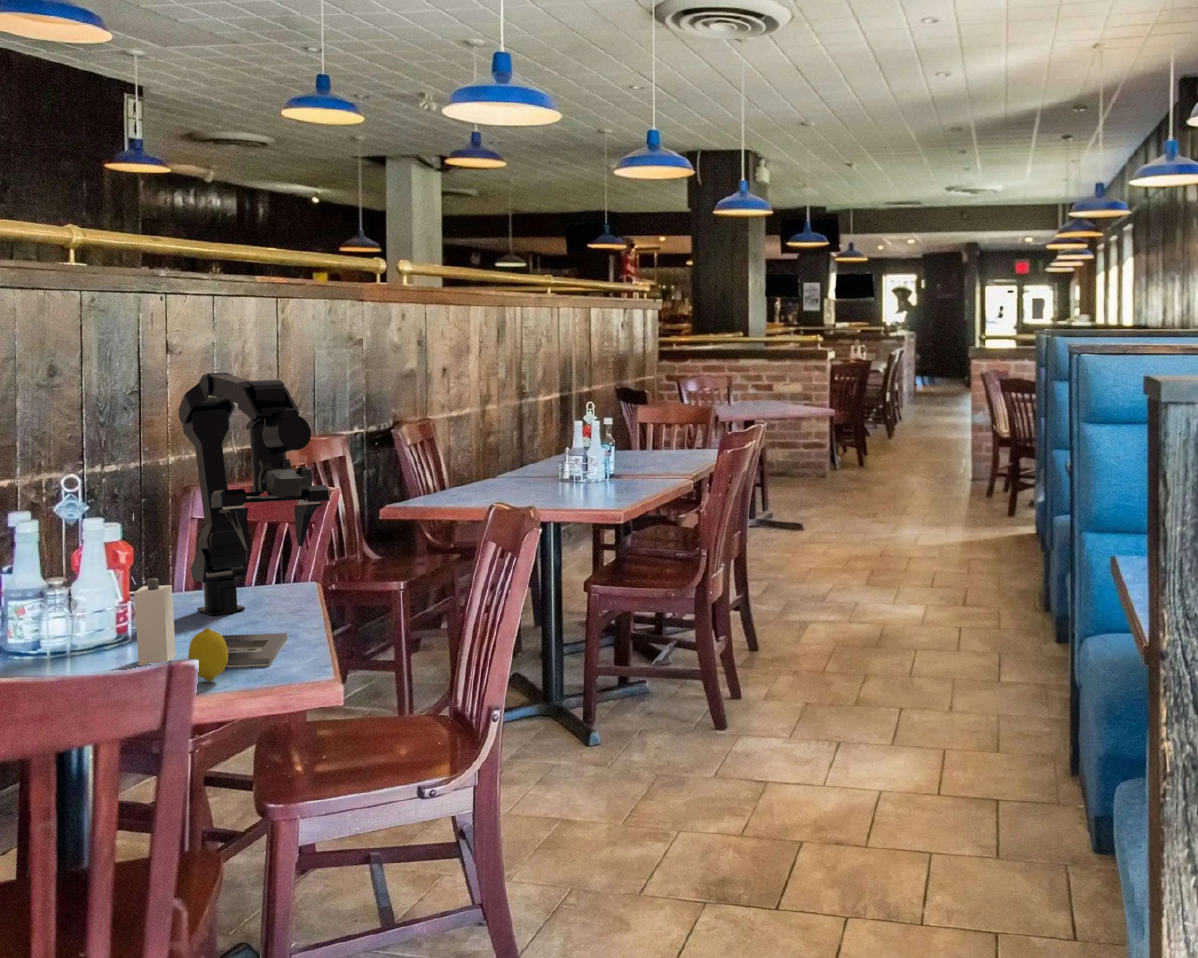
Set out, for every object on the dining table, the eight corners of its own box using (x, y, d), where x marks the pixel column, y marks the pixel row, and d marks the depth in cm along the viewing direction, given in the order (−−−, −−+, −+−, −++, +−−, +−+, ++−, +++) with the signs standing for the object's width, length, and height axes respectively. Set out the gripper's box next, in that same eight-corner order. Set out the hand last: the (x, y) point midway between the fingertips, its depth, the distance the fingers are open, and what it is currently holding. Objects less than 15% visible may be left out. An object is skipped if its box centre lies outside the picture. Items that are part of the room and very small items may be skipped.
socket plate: (213, 642, 204) (213, 635, 204) (287, 640, 205) (287, 633, 205) (189, 668, 188) (189, 661, 188) (269, 665, 189) (269, 658, 189)
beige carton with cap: (147, 657, 196) (142, 576, 194) (175, 656, 196) (171, 575, 194) (138, 665, 191) (133, 582, 189) (167, 664, 191) (163, 581, 190)
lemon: (237, 677, 183) (234, 625, 182) (213, 688, 178) (210, 633, 177) (205, 675, 185) (202, 622, 184) (181, 685, 180) (178, 631, 179)
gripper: (231, 453, 194) (237, 552, 194) (341, 449, 205) (347, 543, 205) (207, 458, 203) (212, 552, 203) (313, 454, 214) (319, 544, 214)
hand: (274, 548), depth 206 cm, fingers open, 9 cm apart
